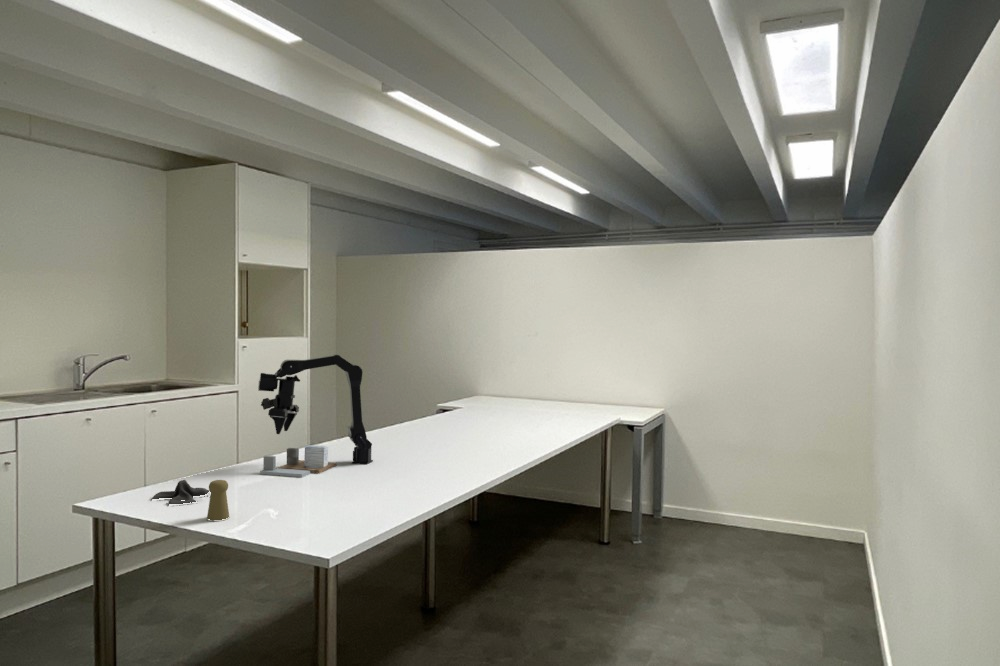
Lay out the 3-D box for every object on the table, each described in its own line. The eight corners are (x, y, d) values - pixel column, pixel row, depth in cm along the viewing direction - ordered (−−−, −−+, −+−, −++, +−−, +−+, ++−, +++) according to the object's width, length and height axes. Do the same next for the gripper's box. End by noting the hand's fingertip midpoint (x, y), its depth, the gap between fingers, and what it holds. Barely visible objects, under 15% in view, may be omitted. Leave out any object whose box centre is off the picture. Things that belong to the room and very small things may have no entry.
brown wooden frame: (336, 465, 268) (336, 447, 268) (319, 473, 254) (319, 454, 254) (297, 462, 272) (297, 445, 272) (278, 470, 258) (278, 451, 258)
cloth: (180, 510, 206) (180, 490, 206) (136, 502, 213) (137, 483, 213) (235, 493, 227) (235, 475, 226) (194, 487, 234) (194, 469, 234)
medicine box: (327, 468, 264) (328, 445, 264) (323, 470, 260) (324, 447, 260) (308, 467, 265) (309, 444, 265) (303, 469, 260) (304, 446, 261)
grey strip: (310, 473, 254) (310, 457, 253) (301, 477, 248) (302, 460, 248) (269, 470, 257) (269, 454, 257) (260, 474, 251) (260, 457, 251)
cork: (211, 515, 200) (211, 478, 200) (232, 515, 200) (232, 478, 200) (203, 521, 194) (204, 483, 194) (225, 521, 194) (226, 483, 194)
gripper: (273, 388, 272) (269, 427, 272) (256, 392, 254) (252, 433, 254) (301, 391, 272) (297, 430, 272) (286, 395, 254) (282, 436, 254)
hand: (282, 432), depth 263 cm, fingers open, 9 cm apart
